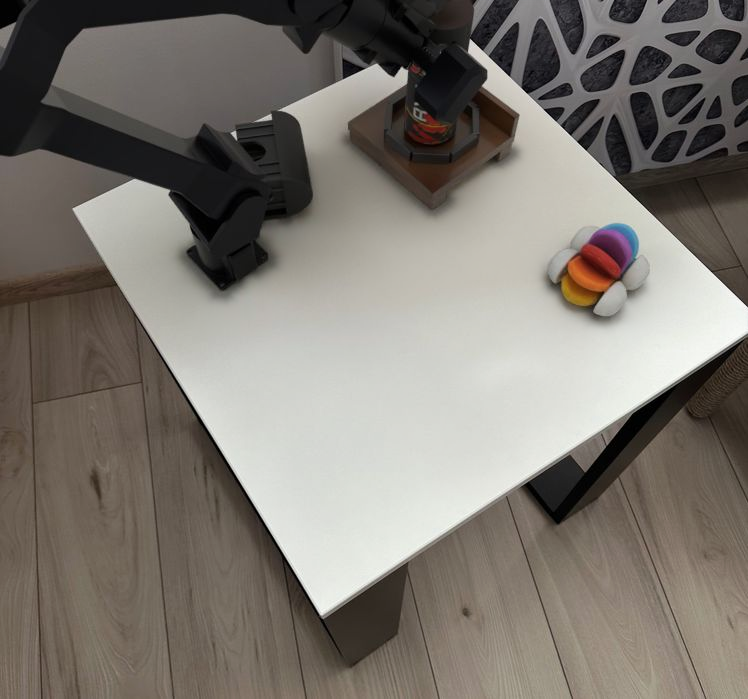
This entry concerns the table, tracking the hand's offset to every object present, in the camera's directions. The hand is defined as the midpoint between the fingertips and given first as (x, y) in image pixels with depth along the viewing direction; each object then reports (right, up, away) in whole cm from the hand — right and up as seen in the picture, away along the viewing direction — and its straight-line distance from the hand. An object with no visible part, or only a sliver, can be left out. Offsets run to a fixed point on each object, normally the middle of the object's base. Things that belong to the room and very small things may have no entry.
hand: (446, 66), depth 80 cm
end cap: (-18, -11, +7) cm, 23 cm away
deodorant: (-1, -4, +6) cm, 8 cm away
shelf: (-1, -6, +9) cm, 11 cm away
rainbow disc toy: (+16, -22, +1) cm, 27 cm away
